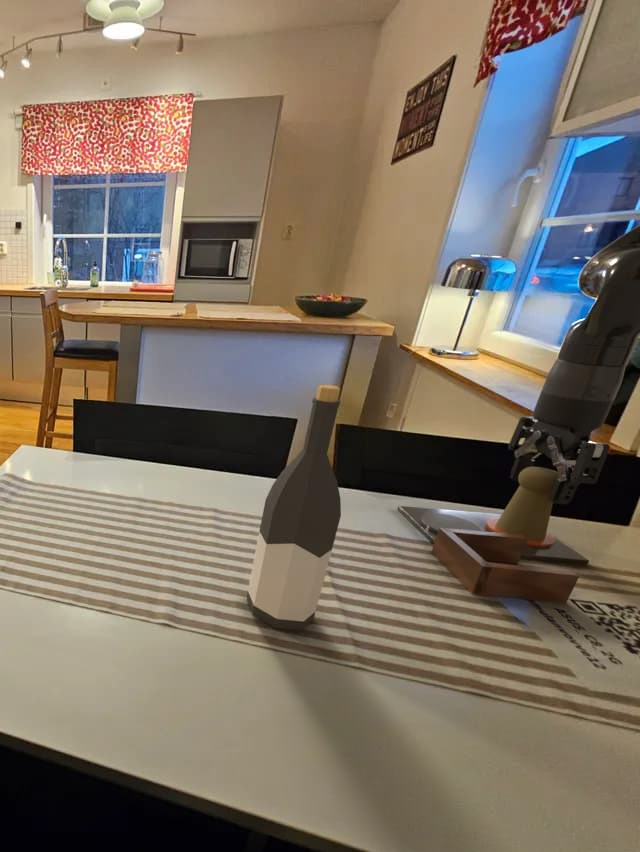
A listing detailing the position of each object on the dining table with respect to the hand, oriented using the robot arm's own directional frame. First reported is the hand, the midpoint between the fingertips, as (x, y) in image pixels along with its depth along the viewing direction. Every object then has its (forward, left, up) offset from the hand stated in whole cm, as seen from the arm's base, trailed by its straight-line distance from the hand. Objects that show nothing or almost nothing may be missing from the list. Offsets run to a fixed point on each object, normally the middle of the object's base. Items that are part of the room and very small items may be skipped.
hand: (536, 490), depth 78 cm
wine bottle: (+44, +27, -9) cm, 52 cm away
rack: (+11, +13, -9) cm, 19 cm away
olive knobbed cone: (0, 0, -7) cm, 7 cm away
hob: (+5, 0, -9) cm, 10 cm away
